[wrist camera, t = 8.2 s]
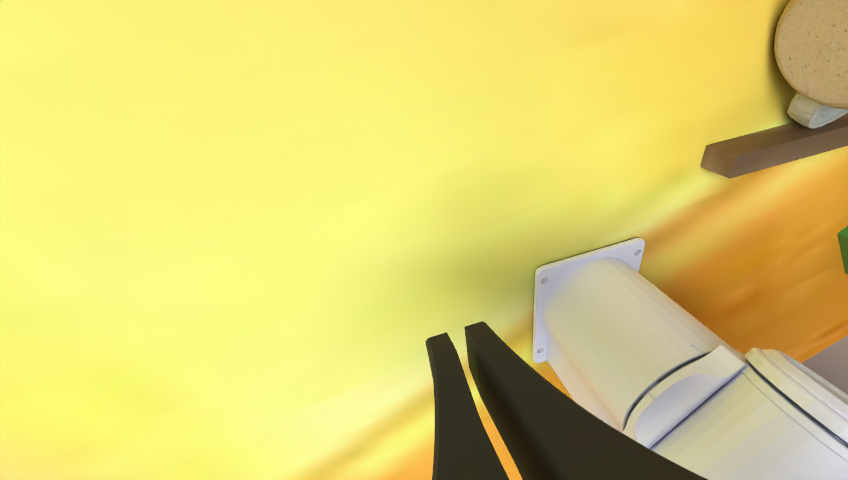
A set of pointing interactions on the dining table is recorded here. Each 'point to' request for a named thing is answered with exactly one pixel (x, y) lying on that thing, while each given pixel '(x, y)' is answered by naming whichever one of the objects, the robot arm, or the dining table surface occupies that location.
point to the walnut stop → (774, 147)
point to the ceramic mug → (814, 59)
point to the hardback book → (844, 247)
